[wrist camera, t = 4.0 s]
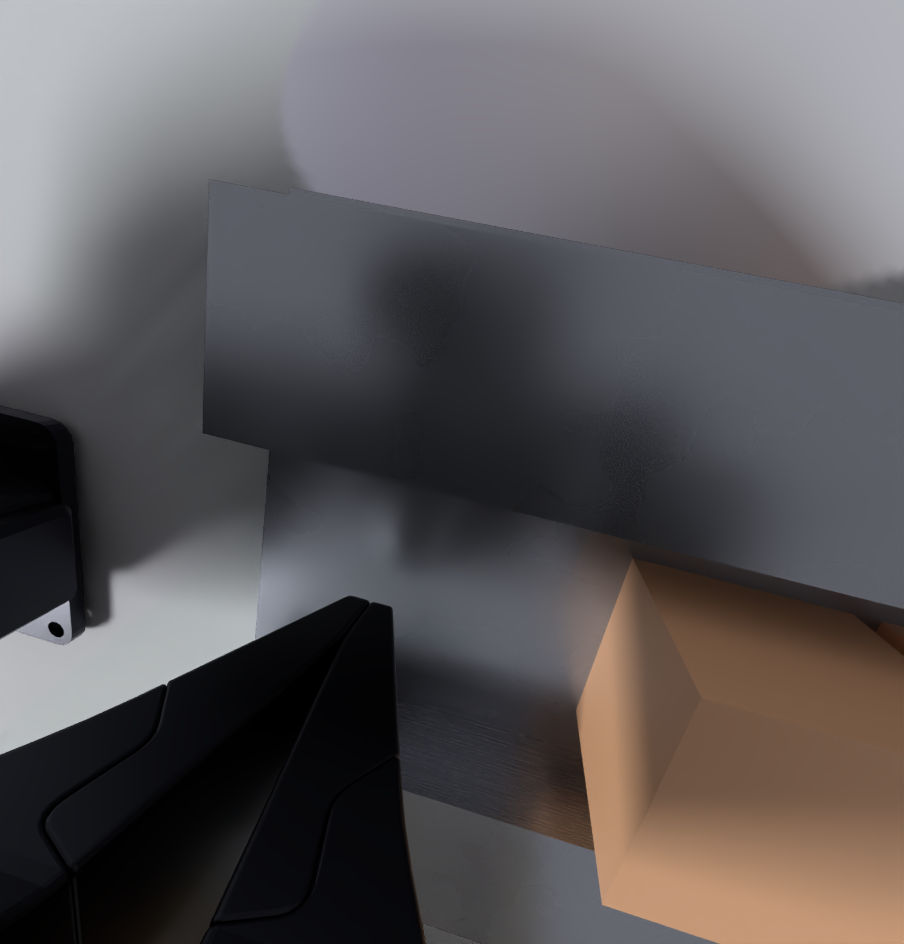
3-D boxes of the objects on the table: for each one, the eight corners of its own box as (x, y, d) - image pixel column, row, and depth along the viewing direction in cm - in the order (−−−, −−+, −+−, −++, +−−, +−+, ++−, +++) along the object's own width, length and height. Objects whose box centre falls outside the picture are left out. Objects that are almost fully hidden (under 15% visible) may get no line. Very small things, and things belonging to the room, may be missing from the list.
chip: (576, 710, 10) (601, 904, 6) (632, 558, 8) (701, 697, 5) (766, 765, 9) (901, 1003, 6) (853, 614, 8) (1082, 804, 5)
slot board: (269, 737, 13) (191, 857, 10) (320, 207, 9) (210, 135, 6) (839, 918, 11) (952, 1125, 8) (1240, 384, 7) (1764, 414, 4)
